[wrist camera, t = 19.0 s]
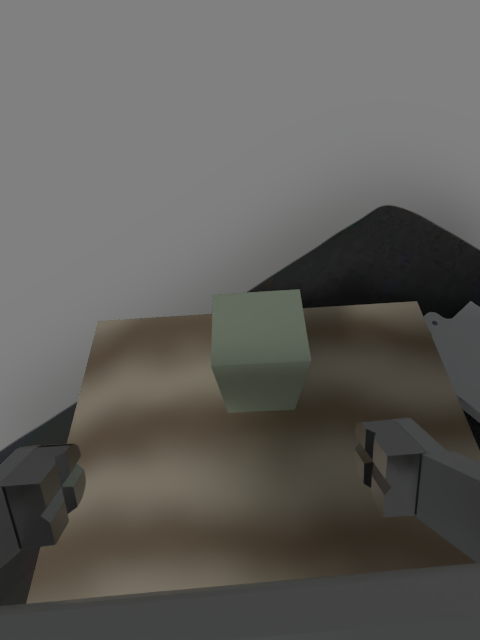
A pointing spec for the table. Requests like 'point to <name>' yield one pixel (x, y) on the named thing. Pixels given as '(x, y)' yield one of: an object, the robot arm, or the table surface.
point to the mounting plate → (460, 353)
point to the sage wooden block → (259, 349)
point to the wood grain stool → (244, 460)
